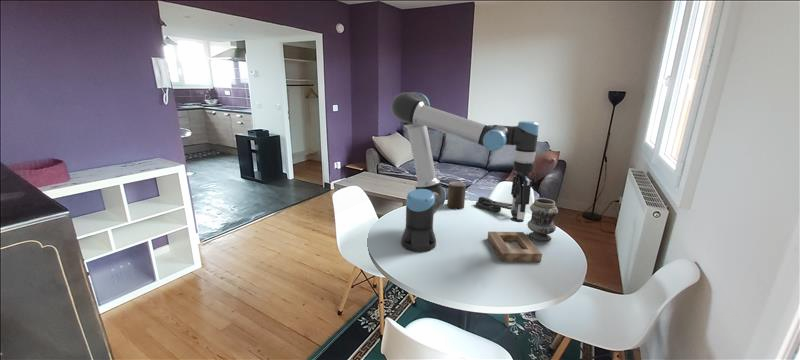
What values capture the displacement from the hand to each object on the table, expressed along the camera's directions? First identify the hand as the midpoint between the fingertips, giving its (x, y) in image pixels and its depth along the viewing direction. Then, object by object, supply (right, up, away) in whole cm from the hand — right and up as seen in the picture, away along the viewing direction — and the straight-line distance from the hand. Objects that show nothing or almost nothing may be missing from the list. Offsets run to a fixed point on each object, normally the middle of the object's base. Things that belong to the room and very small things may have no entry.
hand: (517, 215), depth 137 cm
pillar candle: (-17, -1, +53) cm, 56 cm away
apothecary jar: (+16, -12, +16) cm, 26 cm away
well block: (-1, -15, +4) cm, 16 cm away
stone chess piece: (0, -2, +1) cm, 2 cm away
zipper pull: (+5, -3, +48) cm, 48 cm away
